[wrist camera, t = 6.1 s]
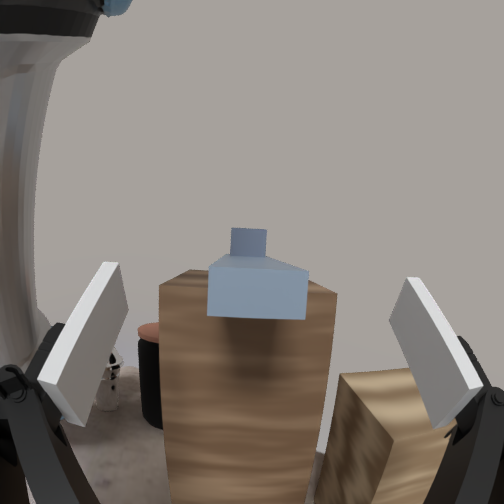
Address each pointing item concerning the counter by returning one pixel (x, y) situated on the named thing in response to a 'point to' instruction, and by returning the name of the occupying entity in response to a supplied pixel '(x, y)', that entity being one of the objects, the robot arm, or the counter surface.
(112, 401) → the cup with straw
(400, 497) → the oak block
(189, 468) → the walnut box
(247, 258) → the lid
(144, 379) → the coffee jar
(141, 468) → the counter surface
